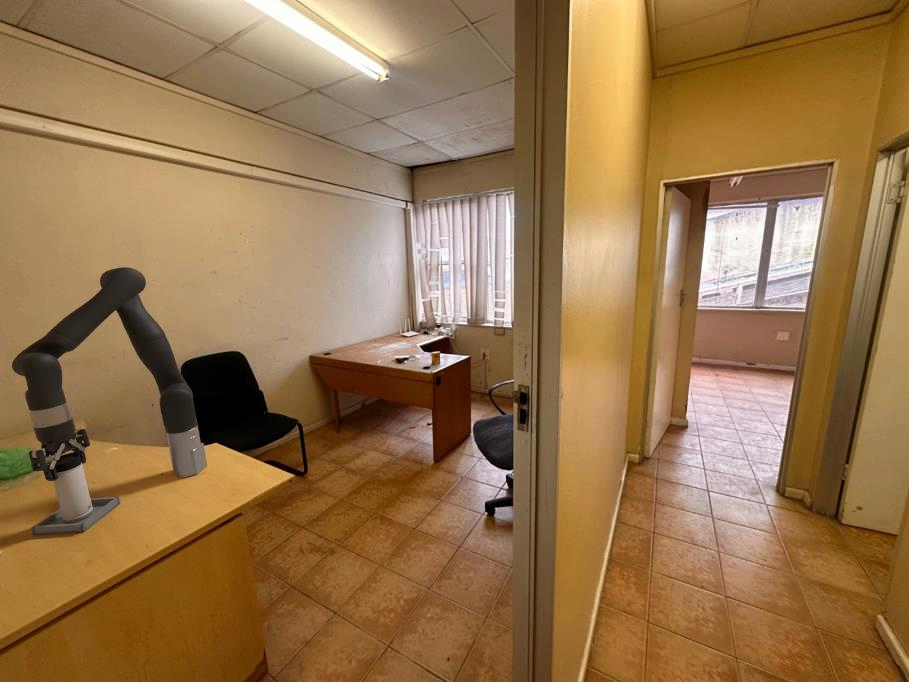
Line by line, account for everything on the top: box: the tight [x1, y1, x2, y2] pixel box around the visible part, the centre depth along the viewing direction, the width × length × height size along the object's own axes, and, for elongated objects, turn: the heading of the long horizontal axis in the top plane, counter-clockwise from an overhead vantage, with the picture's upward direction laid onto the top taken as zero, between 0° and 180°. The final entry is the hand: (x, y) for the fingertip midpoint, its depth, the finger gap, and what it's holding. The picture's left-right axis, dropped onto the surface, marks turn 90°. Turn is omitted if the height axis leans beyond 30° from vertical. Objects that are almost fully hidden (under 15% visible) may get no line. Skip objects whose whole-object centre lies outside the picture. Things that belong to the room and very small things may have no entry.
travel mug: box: [48, 451, 93, 523], centre depth 105 cm, size 6×7×20 cm
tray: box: [30, 496, 121, 536], centre depth 106 cm, size 13×12×2 cm
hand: (68, 471), depth 103 cm, fingers open, 8 cm apart
